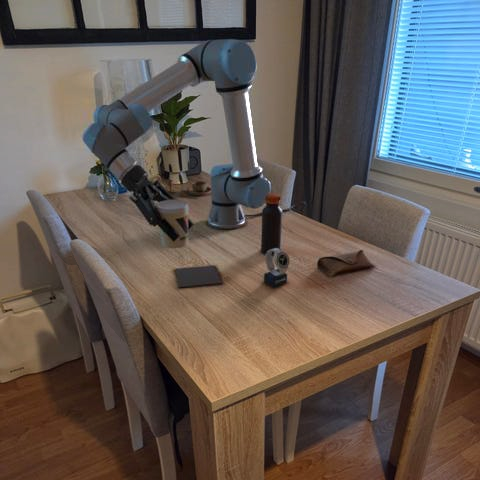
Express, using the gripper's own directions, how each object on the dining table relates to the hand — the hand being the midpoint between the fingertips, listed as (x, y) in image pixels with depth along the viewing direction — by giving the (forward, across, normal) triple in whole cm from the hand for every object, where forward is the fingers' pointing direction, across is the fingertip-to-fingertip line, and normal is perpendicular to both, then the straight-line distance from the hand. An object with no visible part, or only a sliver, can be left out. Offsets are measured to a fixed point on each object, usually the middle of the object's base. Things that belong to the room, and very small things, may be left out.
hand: (184, 232), depth 130 cm
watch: (+30, -7, +8) cm, 32 cm away
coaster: (+13, -3, -10) cm, 16 cm away
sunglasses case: (+44, -26, +21) cm, 55 cm away
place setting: (-16, -90, -38) cm, 99 cm away
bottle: (+24, -30, +2) cm, 39 cm away
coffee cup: (+1, 0, -5) cm, 5 cm away
